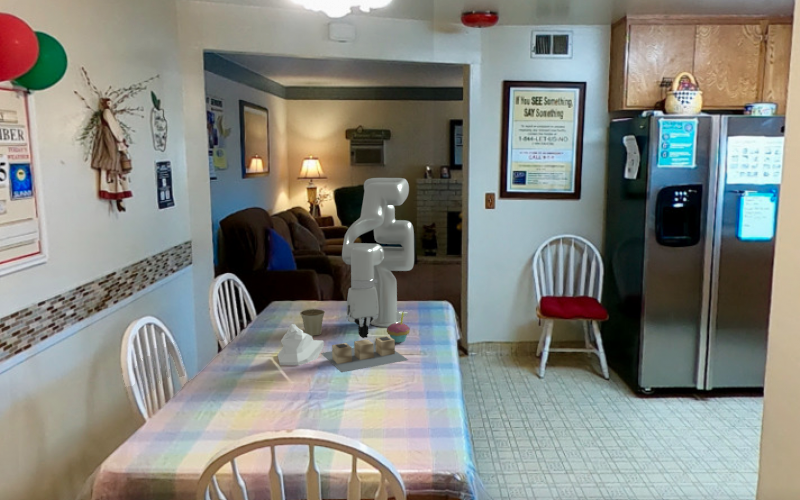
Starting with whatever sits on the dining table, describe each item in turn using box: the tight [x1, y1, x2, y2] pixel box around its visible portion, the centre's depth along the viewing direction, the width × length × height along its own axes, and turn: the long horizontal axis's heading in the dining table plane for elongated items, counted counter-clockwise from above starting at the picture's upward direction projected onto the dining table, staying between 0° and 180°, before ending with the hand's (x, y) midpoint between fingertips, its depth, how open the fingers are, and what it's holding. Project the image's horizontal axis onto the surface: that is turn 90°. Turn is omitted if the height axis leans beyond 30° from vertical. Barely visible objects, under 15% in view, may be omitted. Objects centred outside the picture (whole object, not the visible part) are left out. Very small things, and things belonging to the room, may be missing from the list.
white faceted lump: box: [277, 323, 325, 366], centre depth 196 cm, size 12×15×14 cm
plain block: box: [353, 338, 374, 360], centre depth 199 cm, size 5×5×5 cm
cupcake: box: [386, 310, 411, 343], centre depth 215 cm, size 9×8×12 cm
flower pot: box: [300, 308, 326, 337], centre depth 226 cm, size 9×9×9 cm
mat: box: [320, 343, 409, 373], centre depth 200 cm, size 24×20×1 cm
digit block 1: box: [331, 342, 352, 364], centre depth 196 cm, size 5×5×5 cm
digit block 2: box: [375, 335, 396, 356], centre depth 203 cm, size 5×5×5 cm
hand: (363, 336), depth 198 cm, fingers closed
